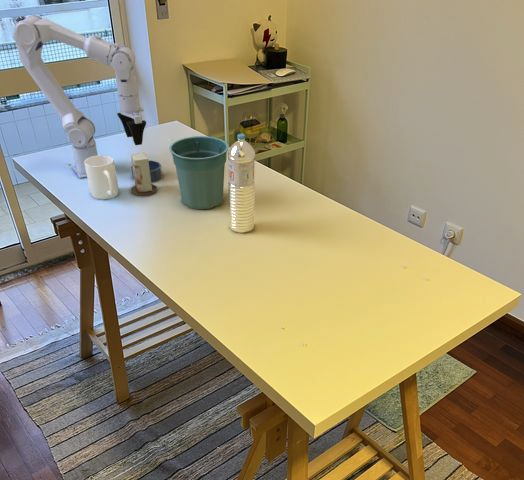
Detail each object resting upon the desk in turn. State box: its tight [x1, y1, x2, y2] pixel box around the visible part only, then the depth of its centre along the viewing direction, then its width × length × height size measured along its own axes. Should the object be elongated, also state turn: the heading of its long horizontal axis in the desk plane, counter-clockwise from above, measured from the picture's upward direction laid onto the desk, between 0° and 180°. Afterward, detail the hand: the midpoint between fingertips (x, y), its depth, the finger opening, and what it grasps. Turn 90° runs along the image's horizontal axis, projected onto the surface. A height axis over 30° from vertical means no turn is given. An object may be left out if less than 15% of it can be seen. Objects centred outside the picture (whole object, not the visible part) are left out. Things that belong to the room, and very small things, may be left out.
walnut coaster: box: [130, 183, 158, 197], centre depth 164 cm, size 8×8×1 cm
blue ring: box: [130, 159, 163, 183], centre depth 171 cm, size 9×9×4 cm
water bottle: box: [227, 133, 256, 234], centre depth 139 cm, size 7×7×25 cm
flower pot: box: [168, 135, 230, 210], centre depth 154 cm, size 16×16×16 cm
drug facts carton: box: [130, 152, 153, 193], centre depth 161 cm, size 5×4×10 cm
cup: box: [84, 154, 120, 200], centre depth 158 cm, size 8×12×10 cm
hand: (134, 140), depth 168 cm, fingers open, 7 cm apart
